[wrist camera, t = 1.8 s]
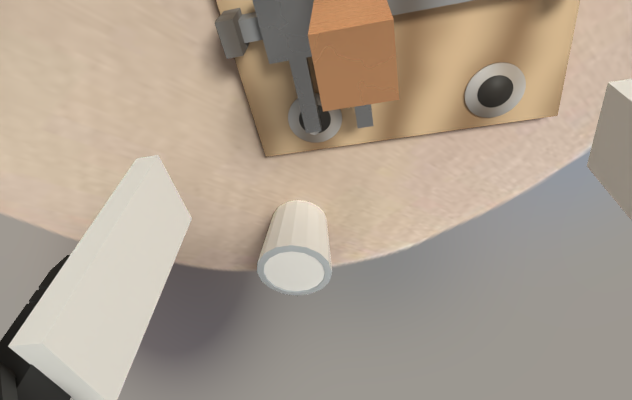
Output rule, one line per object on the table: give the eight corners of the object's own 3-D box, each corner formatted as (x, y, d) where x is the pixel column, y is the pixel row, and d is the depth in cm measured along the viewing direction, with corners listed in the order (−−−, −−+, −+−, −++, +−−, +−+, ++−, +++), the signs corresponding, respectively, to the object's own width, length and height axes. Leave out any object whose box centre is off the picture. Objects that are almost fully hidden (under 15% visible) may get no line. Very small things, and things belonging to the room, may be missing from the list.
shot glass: (253, 221, 43) (241, 273, 37) (295, 183, 39) (289, 234, 34) (303, 253, 45) (298, 305, 40) (346, 220, 42) (347, 272, 37)
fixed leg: (291, 128, 34) (289, 140, 32) (255, -11, 27) (251, -4, 26) (340, 121, 33) (340, 133, 32) (315, -24, 26) (313, -17, 25)
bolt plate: (267, 149, 37) (261, 174, 34) (214, -21, 28) (200, -7, 25) (551, 108, 33) (572, 132, 30) (589, -101, 25) (624, -96, 22)
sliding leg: (340, 121, 33) (340, 209, 25) (315, -24, 26) (304, 28, 18) (389, 114, 32) (408, 201, 24) (376, -36, 26) (395, 11, 17)
